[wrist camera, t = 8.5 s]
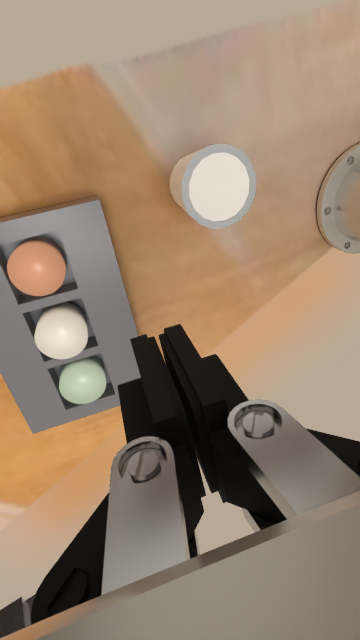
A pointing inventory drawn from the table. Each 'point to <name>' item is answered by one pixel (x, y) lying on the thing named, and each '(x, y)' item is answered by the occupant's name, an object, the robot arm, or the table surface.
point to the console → (78, 289)
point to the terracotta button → (37, 266)
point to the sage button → (82, 380)
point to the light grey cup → (214, 185)
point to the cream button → (61, 331)
